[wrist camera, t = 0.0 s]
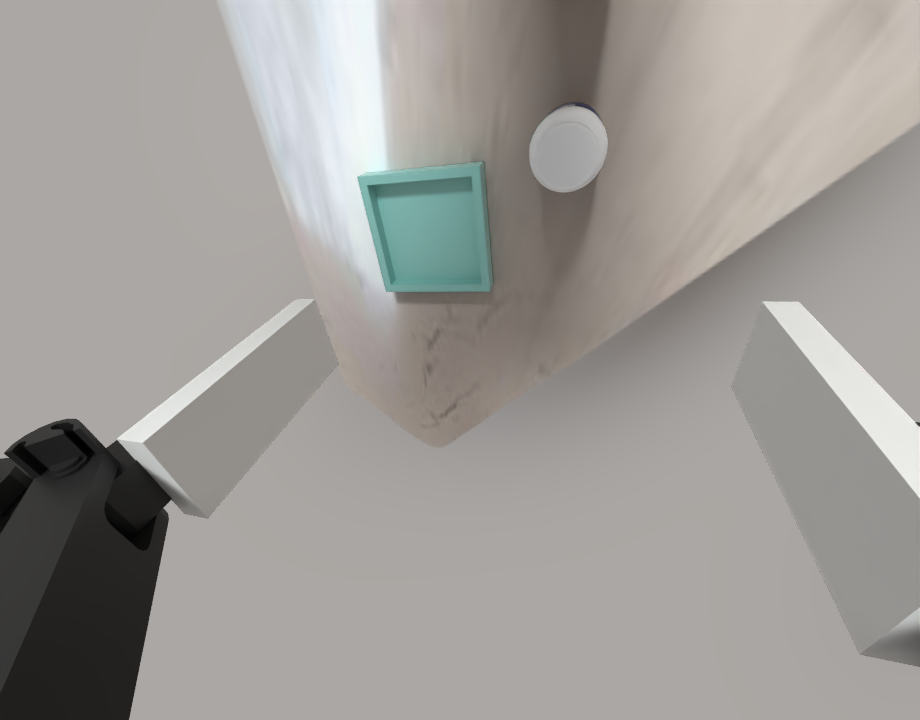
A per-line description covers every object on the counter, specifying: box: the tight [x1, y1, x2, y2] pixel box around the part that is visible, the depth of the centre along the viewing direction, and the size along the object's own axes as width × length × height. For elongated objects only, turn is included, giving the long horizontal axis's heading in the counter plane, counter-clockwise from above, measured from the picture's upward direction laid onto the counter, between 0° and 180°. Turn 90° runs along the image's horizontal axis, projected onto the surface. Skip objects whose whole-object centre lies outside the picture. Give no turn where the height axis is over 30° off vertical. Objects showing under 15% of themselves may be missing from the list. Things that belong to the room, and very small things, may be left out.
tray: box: [357, 162, 493, 292], centre depth 39 cm, size 12×12×2 cm
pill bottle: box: [529, 102, 608, 193], centre depth 28 cm, size 5×5×10 cm
